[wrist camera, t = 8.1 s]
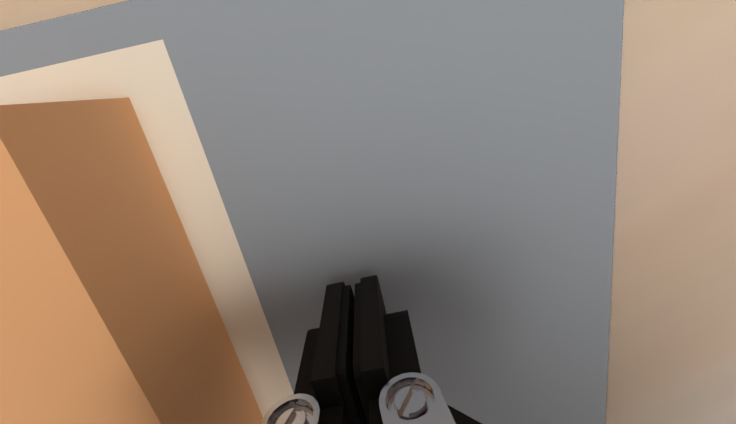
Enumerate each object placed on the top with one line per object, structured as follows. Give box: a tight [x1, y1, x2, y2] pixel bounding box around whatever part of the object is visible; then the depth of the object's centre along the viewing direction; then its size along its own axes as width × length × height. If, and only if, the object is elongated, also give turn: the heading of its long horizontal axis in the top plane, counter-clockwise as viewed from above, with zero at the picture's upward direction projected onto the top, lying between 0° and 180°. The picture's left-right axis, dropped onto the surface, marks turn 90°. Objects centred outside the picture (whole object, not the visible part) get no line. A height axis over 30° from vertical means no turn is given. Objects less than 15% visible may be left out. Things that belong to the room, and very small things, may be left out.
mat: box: [0, 0, 624, 424], centre depth 13 cm, size 20×30×1 cm, turn 102°
